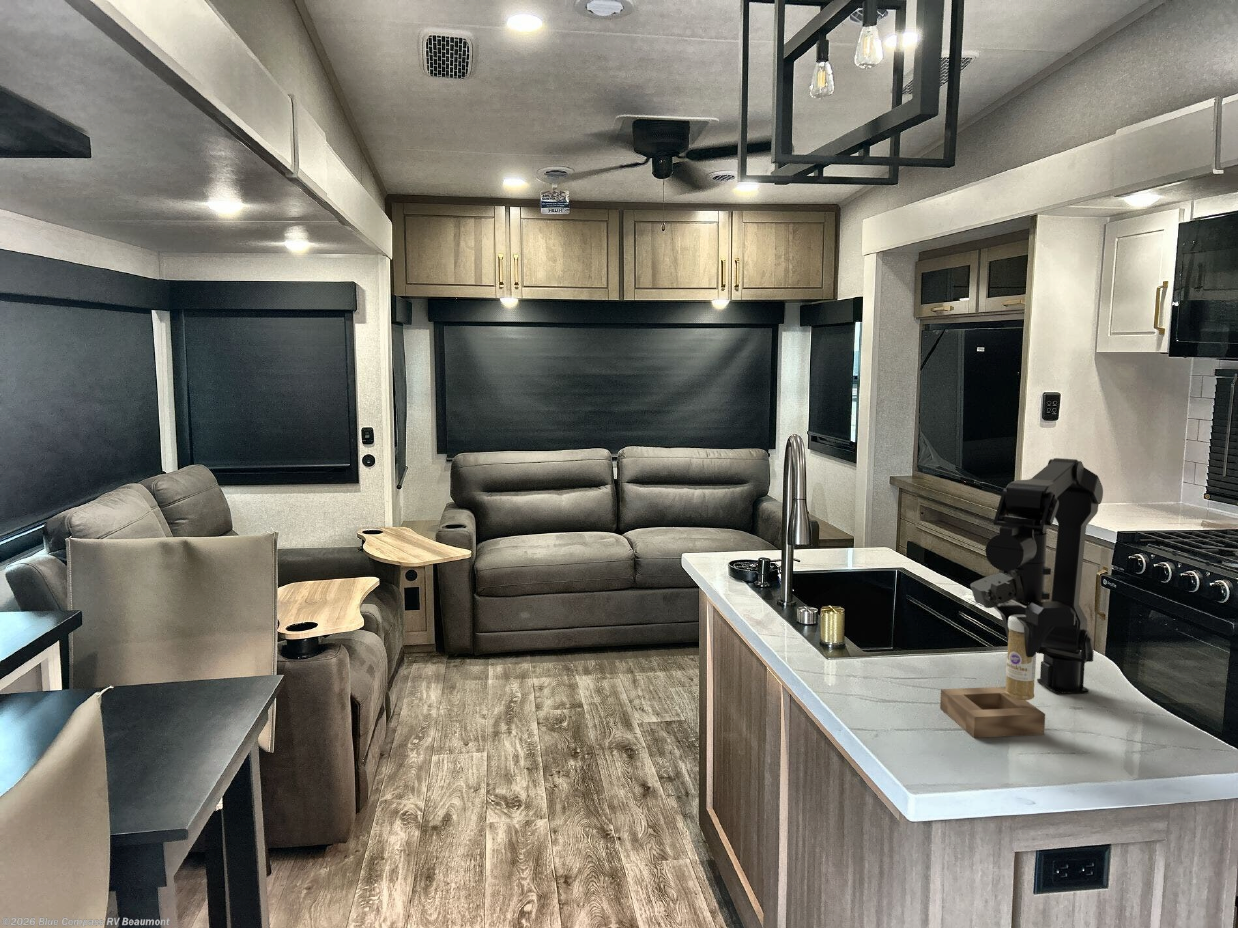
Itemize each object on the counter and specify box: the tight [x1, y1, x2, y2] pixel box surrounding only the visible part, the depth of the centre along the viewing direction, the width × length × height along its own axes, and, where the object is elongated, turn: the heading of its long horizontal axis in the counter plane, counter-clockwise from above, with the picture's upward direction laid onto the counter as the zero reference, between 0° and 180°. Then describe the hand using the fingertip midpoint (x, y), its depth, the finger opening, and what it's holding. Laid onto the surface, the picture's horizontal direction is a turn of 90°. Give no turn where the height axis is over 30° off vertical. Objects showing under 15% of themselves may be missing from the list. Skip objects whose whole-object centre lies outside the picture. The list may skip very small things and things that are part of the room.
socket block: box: [939, 686, 1046, 738], centre depth 146 cm, size 12×12×4 cm
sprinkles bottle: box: [1005, 615, 1037, 701], centre depth 143 cm, size 5×5×13 cm
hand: (1021, 651), depth 143 cm, fingers closed on sprinkles bottle, 4 cm apart
